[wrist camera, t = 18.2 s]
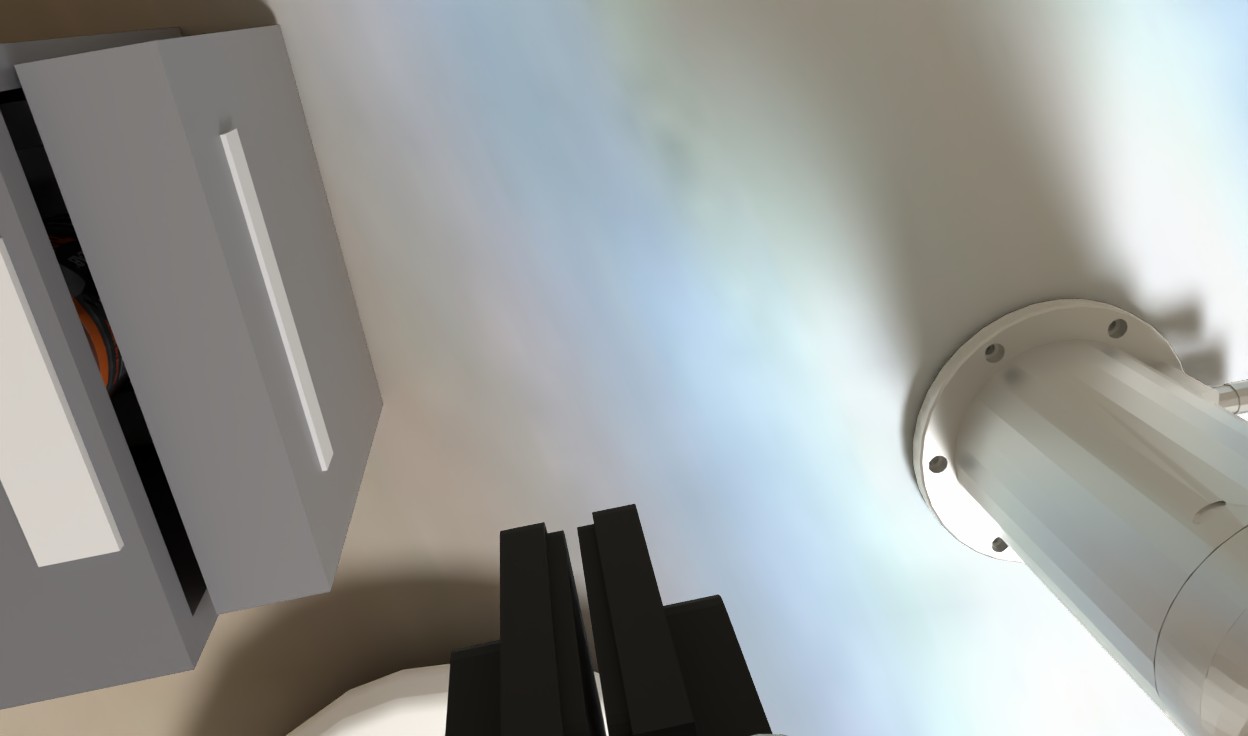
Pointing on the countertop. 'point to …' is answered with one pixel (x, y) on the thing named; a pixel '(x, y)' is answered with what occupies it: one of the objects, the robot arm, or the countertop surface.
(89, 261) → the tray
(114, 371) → the supplement bottle
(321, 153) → the countertop surface
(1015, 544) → the robot arm
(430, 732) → the plate
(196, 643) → the box
